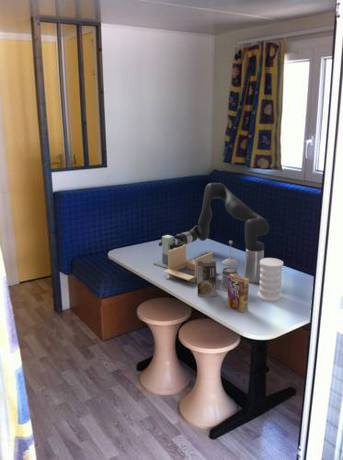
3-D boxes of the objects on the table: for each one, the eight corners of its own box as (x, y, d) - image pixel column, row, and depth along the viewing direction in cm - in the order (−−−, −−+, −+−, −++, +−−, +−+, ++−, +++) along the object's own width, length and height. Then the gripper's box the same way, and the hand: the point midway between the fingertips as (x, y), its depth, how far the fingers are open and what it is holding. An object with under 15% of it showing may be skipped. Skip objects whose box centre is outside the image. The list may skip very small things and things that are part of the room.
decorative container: (267, 289, 222) (268, 255, 217) (286, 297, 214) (289, 262, 209) (252, 296, 215) (253, 261, 210) (272, 304, 206) (274, 268, 201)
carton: (217, 272, 245) (218, 249, 241) (189, 286, 227) (189, 262, 224) (190, 264, 257) (190, 242, 253) (162, 276, 240) (161, 253, 236)
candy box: (248, 309, 202) (249, 278, 197) (242, 312, 199) (244, 281, 194) (232, 303, 208) (233, 273, 203) (226, 306, 205) (227, 276, 200)
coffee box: (215, 291, 221) (216, 261, 216) (215, 297, 215) (216, 265, 210) (197, 290, 222) (197, 260, 217) (197, 296, 216) (197, 265, 211)
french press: (233, 282, 231) (234, 236, 224) (244, 291, 221) (246, 243, 213) (216, 285, 228) (217, 239, 220) (227, 294, 217) (228, 246, 210)
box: (173, 262, 258) (173, 236, 253) (168, 264, 255) (167, 238, 250) (167, 260, 261) (167, 234, 256) (162, 263, 257) (162, 236, 253)
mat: (182, 263, 258) (182, 262, 258) (168, 269, 250) (168, 268, 250) (167, 258, 266) (167, 257, 266) (153, 264, 257) (153, 263, 257)
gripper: (174, 230, 268) (155, 237, 256) (192, 235, 259) (174, 242, 247) (174, 242, 270) (155, 249, 258) (192, 247, 261) (174, 255, 249)
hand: (164, 246), depth 253 cm, fingers open, 8 cm apart
